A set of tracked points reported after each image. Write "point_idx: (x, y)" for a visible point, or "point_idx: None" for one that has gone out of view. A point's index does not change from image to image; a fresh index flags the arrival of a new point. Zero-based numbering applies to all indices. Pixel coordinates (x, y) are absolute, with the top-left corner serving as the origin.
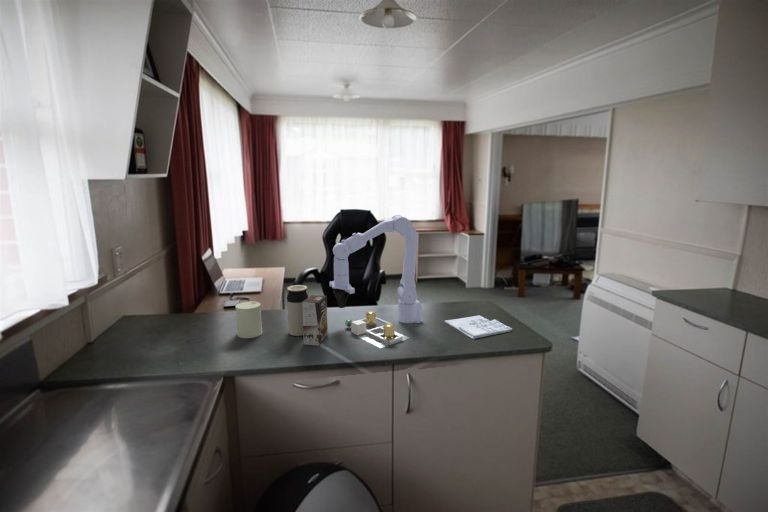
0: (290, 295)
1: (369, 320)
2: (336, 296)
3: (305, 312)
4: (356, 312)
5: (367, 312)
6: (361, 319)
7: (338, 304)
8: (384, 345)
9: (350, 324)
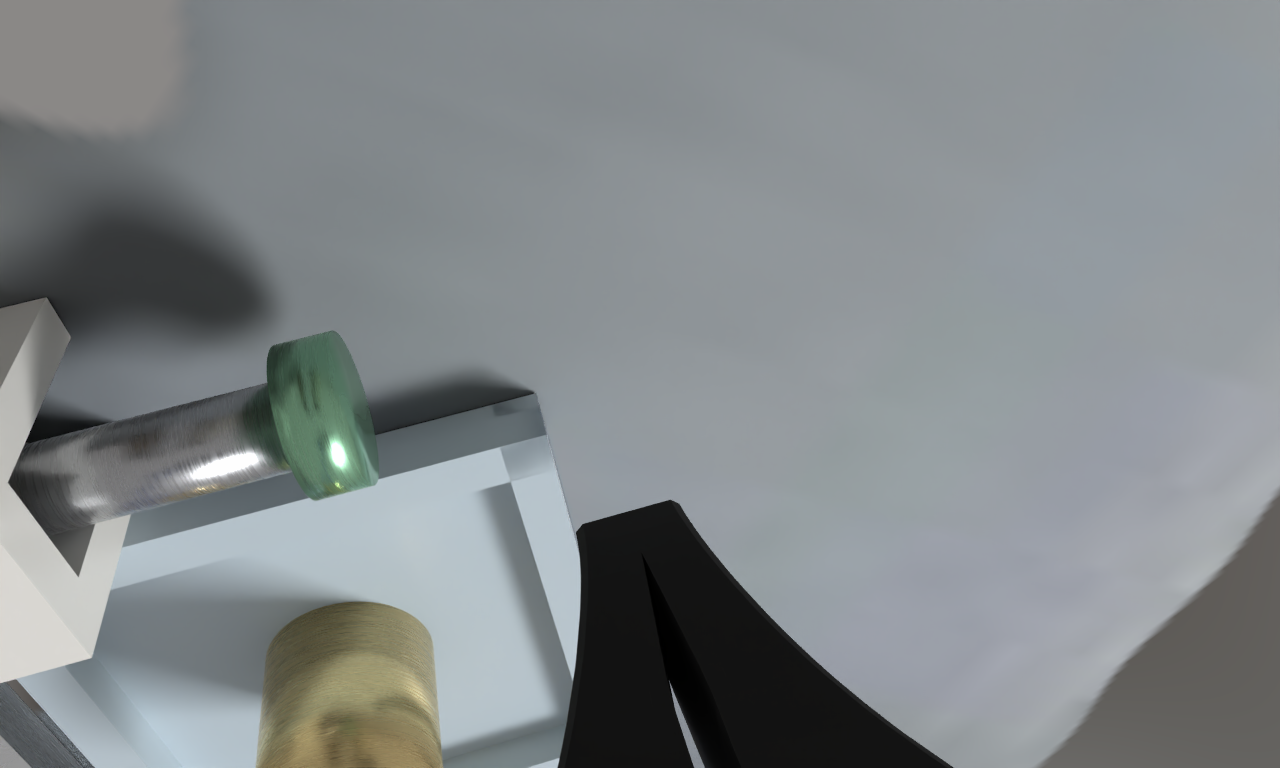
0: None
1: (270, 732)
2: (827, 765)
3: None
4: (990, 597)
5: None
6: None
7: (688, 555)
8: None
9: (173, 423)
